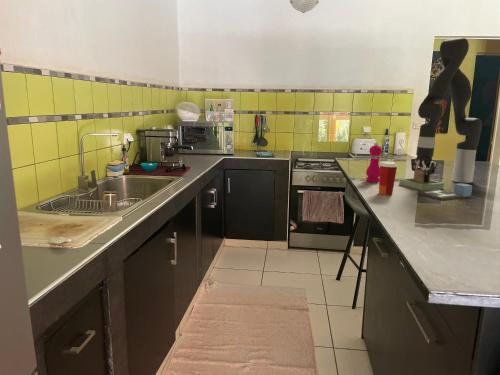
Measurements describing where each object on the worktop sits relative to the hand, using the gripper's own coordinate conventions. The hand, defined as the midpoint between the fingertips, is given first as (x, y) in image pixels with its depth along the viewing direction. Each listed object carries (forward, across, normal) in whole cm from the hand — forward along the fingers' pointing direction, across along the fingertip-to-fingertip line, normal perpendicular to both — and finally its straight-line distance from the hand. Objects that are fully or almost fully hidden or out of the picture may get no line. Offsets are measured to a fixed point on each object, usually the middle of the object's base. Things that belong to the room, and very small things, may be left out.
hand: (421, 181), depth 188 cm
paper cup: (+3, -6, +28) cm, 29 cm away
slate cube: (+3, -19, -5) cm, 20 cm away
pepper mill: (+3, +18, +14) cm, 23 cm away
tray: (+3, 0, 0) cm, 3 cm away
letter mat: (+3, -16, +6) cm, 18 cm away
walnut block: (0, 0, 0) cm, 0 cm away
